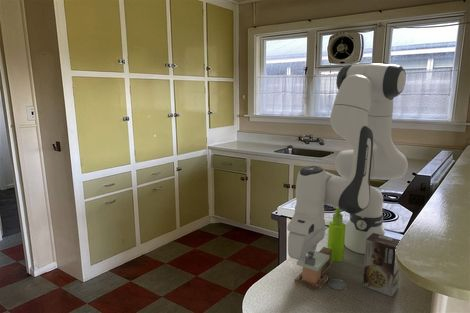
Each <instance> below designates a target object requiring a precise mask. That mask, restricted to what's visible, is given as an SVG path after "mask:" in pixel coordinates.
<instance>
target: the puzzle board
mask: <svg viewBox="0 0 470 313" xmlns="http://www.w3.org/2000/svg"><path fill="white" fill-rule="evenodd" d="M318 252H320V253H323V254H327V255H330V257H329V260H328V261H327V262H326V263H325V264H324V265H323V266H322V267H321V279H320V281H319V282H318V283H317V285H315V284H312V283H309V282H306V281H303V280H302V272H300V273H299V275H297V276H296V277H295V279H294V283H295V284H298V285H301V286H304V287H306V288H310V289H313V290H315V291H320V289H321V288H322V286H323V285H324V284H325V283H326V282H327V281H328V275H325V274H324V273H325V272H326V271H327V270H328V268H330V266H331V264H332V260H331V255H332V249H329V248H327V247H326V246H323V247H322V248H321V249H320V250H319V251H318Z"/></svg>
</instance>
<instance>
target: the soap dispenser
mask: <svg viewBox="0 0 470 313" xmlns="http://www.w3.org/2000/svg"><path fill="white" fill-rule="evenodd" d="M333 209H334V210H335V212H334V214H332V221H330V222H328V230H327V231H328V233H327V247H326V248H329V249H332V255H331V262H342V261H343V260H344V257H345V256H344V254H345V253H344V252H345V244H344V243H345V229H346V223H344V222H343V217H344V216H343V214H341V213H342V212H341V211H342V210H341V209H339V208H336V207H333Z"/></svg>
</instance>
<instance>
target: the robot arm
mask: <svg viewBox="0 0 470 313" xmlns="http://www.w3.org/2000/svg"><path fill="white" fill-rule="evenodd" d="M406 75H407V73H406V70H405V68H403V66H401V65H399V64H394V63H390V64H386V63H375V62H371V63H363V64H362V63H361V64H360V63H359V64H347V65H344V66H342V68H340V70H338V73H337V76H336V79H335V80H336V88H337V93H336V96H335V98H334V102H333V104H332V108H331V113H330V117H329V119H330V120H329V123H330V126H331V128H332V129H333V131H334V132H335V133H336V134H337V135H338V136H339V137H340V138H343V140H345V141H347V142H348V143H349V144H350V145H351V147H352V149H345V150H340V151H339V153H338V154H337V155H336V157H335V160H334V167H335V170H336V172H337V173H338V174H333V173H330V172H327V171H326V170H325V169H324V167H322V166H319V165H307V166H304V167H301V169H300V170H299V171H298V174H297V178H296V180H295V181H296V183H295V194H294V195H295V200H296V203H295V206H294V213H293V215H292V217H291V220H290V221H289V222H288V223H287V229H286V230H287V231H288V232H289V233H288V236H287V254H288V256H289V258H291V259H295V260H297V261H298V260H299V265H300V266H299V265H298V266H299V267H302V266H305V265H306V261H307V260H306V259H305V256H306V254H307V253H308V257H312V258H313V257H314V256H315V251H316V249H317V247H318V244H319V243H321V241H322V240H323V239H324V238H325V235H326V221H325V207H324V206H325V205H328V206H330V207H333V208H334V207H336V208H339V209H341V211H343V212H345V213H347V214H349V220H348V221H347V222H345V225H346V229H345V243H344V247H346V249H349V251H352V252H354V253H357V254H363V255H365V248H366V239H367V238H368V237H369V236H370V235H371V234H373V233H376V234H380V235H384V236H387V237H389V236H388V235H386V233H385V228H386V227H385V225H384V224H383V223H384V217H383V214H384V212H383V203H384V196H383V194H382V192H381V191H380V190H379V189H378V188H376V187H374V186H372V185H371V184H370V183H371V182H370V181H371V180H384V181H385V180H386V181H387V180H388V181H389V180H396V179H402V178H403V177H404V176H405V174H406V173H407V172H408V168H409V163H408V159H407V157H406V156H405V154H404V153H402V152H401V151H400V150H399V149H398V148H397V147H396V146H395V144H394V142H393V138H392V124H393V123H392V121H393V114H394V113H393V112H394V98H396V97H399V95H400V94H402V93H403V91H404V89H405V86H406V83H407V76H406Z"/></svg>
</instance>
